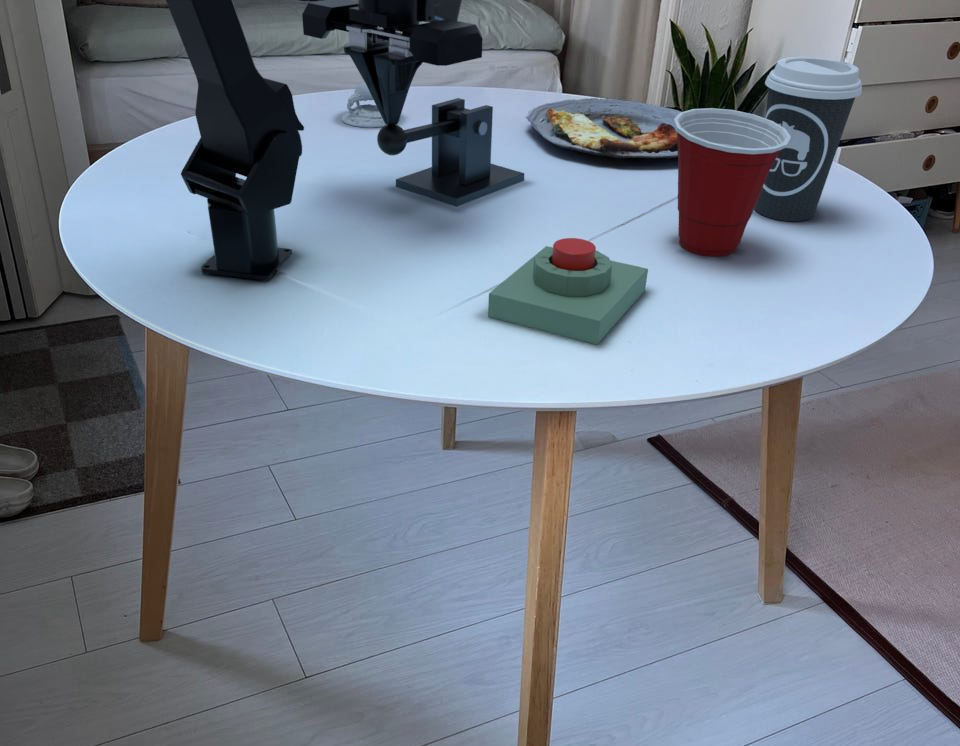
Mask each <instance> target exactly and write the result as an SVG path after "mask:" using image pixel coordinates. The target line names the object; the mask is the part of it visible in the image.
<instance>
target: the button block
mask: <svg viewBox="0 0 960 746" xmlns="http://www.w3.org/2000/svg"><path fill="white" fill-rule="evenodd" d="M552 254H553V246H548V245H546V246H544V247H542V249H541V250H540V251H538V252H537V253H536V254H535V255H534V256H533V257H531V258H530V259H529V260H527V261H526V262H525V263H523V265H521V266H520V267H519V268H518V269H517V270H515V271H514V272H513V273H512V274H510V275H509V276H508V277H507V278H506V279H505V280H503V281H502V282H501V283H499V284H498V285H497V286H496V287H494V289H492V290H491V291H490V292H488V305H487V306H488V308H487V317H488V318H492V319H496V320H500V321H504V322H507V323H511V324H514V325H518V326H522V327H527V328H530V329H535V330H539V331H542V332H545V333H550V334H554V335H558V336H561V337H565V338H570V339H573V340H577V341H581V342H585V343H588V344H592V345H597V346H598V345H599V344H600V343H601V341H602V340H603V339H604V338H606V336H607V335H608V333H609V332H610V331H611V330H612V329H613V328H614V327H615V326H616V324H617V323H618V322H619V321H620V320H621V319H622V318H623V316H624V315H626V313H627V312H628V311H629V310H630V309H631V308H632V306H634V304H635V303H636V302H637V301H638V300H639V299H640V297H641V296H642V295H643V294H644V293H645V292H646V286H647V280H648V273H649V269H648V268H646V267H642V266H637V265H634V264H628V263H624V262H620V261H615V260H611V259H610V257H609V256H607V255H606V254H604V253H602V252H600V251H598V250H596V251H595V260H594V267H593V269H589V270H585V271H568V270H564V269H560V268H557V267H555V266H554V265H552Z"/></svg>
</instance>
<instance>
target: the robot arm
mask: <svg viewBox="0 0 960 746" xmlns="http://www.w3.org/2000/svg"><path fill="white" fill-rule="evenodd" d="M462 1H463V0H318V1H312V2H308V3H307V4H306V7H305V9H304V10H303V12H302V13H301V18H302V19H301V20H302V32H303V35H304V36H307V37H312V38H315V39H320V40H323V39H326V38H327V37H329V36H328V35H329V34H330V32H331V31H335V30H338V31H343V32H346V33H348V44H349V45H347V46H344V47H343V52H344V54H345V55H348V56H349V57H350V58H351V61H352V62H353V64H354V66H355V67H356V69H357V71H358V73H359V75H360V76H361V79H362V80H363V81H364V82H365V83H366V85H367V87H368V89H369V91H370V93H371V96H372V98H373V100H372V101H373V102H374V103H375V104H374V105H376V106H377V108H378V110H379V112H380V114H381V116H382V118H383V121H384V123H385V124H387V125H390V126H393V125H398V124H399V122H400V118H401V116H402V112H403V109H404V106H405V102H406V100H407V97H408V94H409V91H410V89H411V85H412V82H413V80H414V77H415V75H416V73H417V71H418V69H419V68H420V67H421V66H422V64H429V65H432V66H439V67H440V66H441V67H443V66H444V67H447V66H450V65H455V64H460V63H464V62H468V61H472V60H477V59H481V58H483V39H484V38H483V33H482V32H481V30H480V29H479V27H478V25H477V24H475V23H470V22H464V21H460V20H458V19H459V15H460V11H461V5H462ZM165 3H166V4H167V7H168V9H169V12H170V14H171V17H172V19H173V20H172V21H173V22H174V25H175V27H176V29H177V32H178V34H179V37H180V39H181V42H182V45H183V47H184V50H185V52H186V55H187V57H188V60H189V62H190V65H191V68H192V70H193V72H194V75H195V78H196V81H197V94H196V102H195V111H194V112H195V113H194V115H195V119H196V124H197V127H198V131H199V135H200V138H199V140H198V141H197V143H196V145H195V146H194V149H193V150H192V152H191V153H190V156H189V158H188V159H187V161H186V162H185V164H184V166H183V167H182V170H181V172H180V175H181V178H182V180H183V182H184V184H185V185H186V188H187V191H188V192H189V193H190V194H193V195H197V196H200V197H202V198H206V201H207V211H208V217H209V225H210V231H211V238H212V245H213V251H214V255H213V256H212V257H210V258H209V259H208V260H207V261H206V262H204V263H203V264H202V265H201V266H200V269H201V273H203V274H209V275H218V276H224V277H225V276H227V277H232V278H241V279H250V280H257V281H268V280H270V279H271V278H272V277H273V276H274V275H275V274H276V273H277V272H278V269H279V268H280V267H281V266H282V265H283V264H284V263H285V262H286V261H287V260H288V259H289V258H290V257H291V256H292V255H293V249H291V248H286V247H279V244H278V242H279V241H278V233H277V232H278V231H277V225H276V215H275V210H276V209H279V208H283V207H285V206H289V205H290V204H291V203H292V201H293V195H294V189H295V183H296V176H297V174H298V173H297V172H298V167H299V160H300V157H301V156H302V155H303V142H302V138H301V137H302V136H301V133H300V131H302V132H303V131H304V130H305V126H304V125H303V124H302V122H301V121H300V119H299V117H298V115H297V112H296V109H295V108H296V107H295V104H294V97H293V94H292V92H291V90H290V87H289V85H288V84H287V83H284V82H280V81H276V80H272V79H269V78H265V77H263V76H262V74H261V73H260V72H259V70H258V69H257V67H256V65H255V62H254V59H253V55H252V53H251V49H250V47H249V44H248V42H247V38H246V36H245V32H244V29H243V28H242V24H241V22H240V19H239V15H238V12H237V9H236V7H235V4H234V1H233V0H165ZM420 22H424V23H420ZM237 175H240V176H243V177H245V179H244V178H241V177H238V176H237Z"/></svg>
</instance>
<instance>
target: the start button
mask: <svg viewBox="0 0 960 746" xmlns="http://www.w3.org/2000/svg"><path fill="white" fill-rule="evenodd" d="M552 247H553V254H552V265H554V266H555V267H557V268H560V269H564V270H568V271H585V270H589V269H593V267H594V260H595V251H597V250H596V249H597V247H596V244H595V243H593V242H592V241H589V240H587V239H583V238H576V237H566V238H561V239H557V240H556V241H555V242H553V245H552Z"/></svg>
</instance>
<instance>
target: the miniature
mask: <svg viewBox="0 0 960 746" xmlns="http://www.w3.org/2000/svg"><path fill="white" fill-rule="evenodd" d="M366 101H374V100H373V98H372V96H371V93H370V91H369V89H368V87H367V85H366V83H365V82H364V80H363V81H361V82H360V83H359V84H357V86H356V87H355V89H354V93H353V94H351V95H350V97H348V98H347V103H346V109H347V110H348V112H346V113H344V114H343V115H342V116H341V121H342V122H343V124H346V125H348V126H352V127H357V128H358V127H360V128H382V127H383V126H385V125H387V124H385V123H384V121H383V118H382V116H381V114H380V112H379V110H378V108H377V106H376V104H370V103H369V104H360V102H366ZM354 103H355V104H356V106H355V107H353V106H354ZM352 107H353V108H352Z"/></svg>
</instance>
